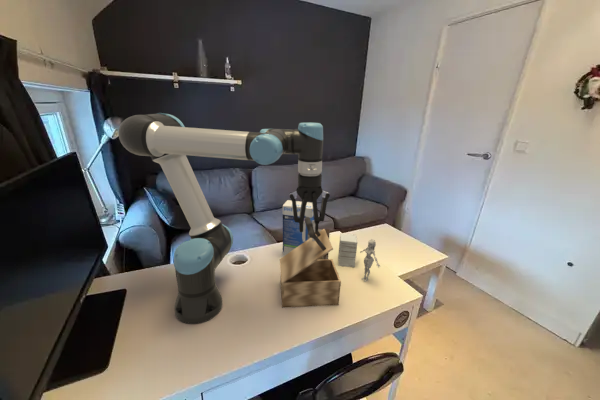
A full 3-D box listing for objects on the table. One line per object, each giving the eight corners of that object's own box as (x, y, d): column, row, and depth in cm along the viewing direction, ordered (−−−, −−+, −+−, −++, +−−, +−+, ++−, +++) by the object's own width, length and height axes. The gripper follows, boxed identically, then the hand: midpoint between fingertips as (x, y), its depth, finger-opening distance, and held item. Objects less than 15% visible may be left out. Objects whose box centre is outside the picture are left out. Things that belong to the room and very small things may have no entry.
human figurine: (354, 272, 116) (358, 234, 110) (361, 270, 118) (366, 232, 112) (371, 289, 106) (377, 248, 100) (379, 287, 108) (386, 246, 101)
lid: (282, 283, 91) (265, 265, 88) (280, 260, 105) (266, 243, 102) (333, 249, 89) (317, 229, 86) (324, 229, 102) (311, 212, 99)
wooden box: (282, 307, 95) (282, 283, 92) (280, 282, 108) (280, 260, 105) (338, 305, 97) (341, 281, 94) (330, 280, 110) (332, 259, 107)
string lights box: (313, 254, 129) (316, 202, 120) (310, 263, 122) (312, 208, 113) (286, 250, 132) (287, 199, 123) (281, 258, 125) (282, 205, 116)
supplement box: (337, 257, 127) (340, 232, 123) (354, 258, 127) (356, 234, 122) (337, 266, 121) (340, 240, 116) (354, 267, 120) (357, 242, 115)
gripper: (285, 176, 83) (286, 245, 91) (336, 175, 84) (333, 243, 92) (284, 170, 90) (285, 235, 98) (331, 170, 91) (328, 233, 99)
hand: (308, 239), depth 95 cm, fingers open, 3 cm apart
